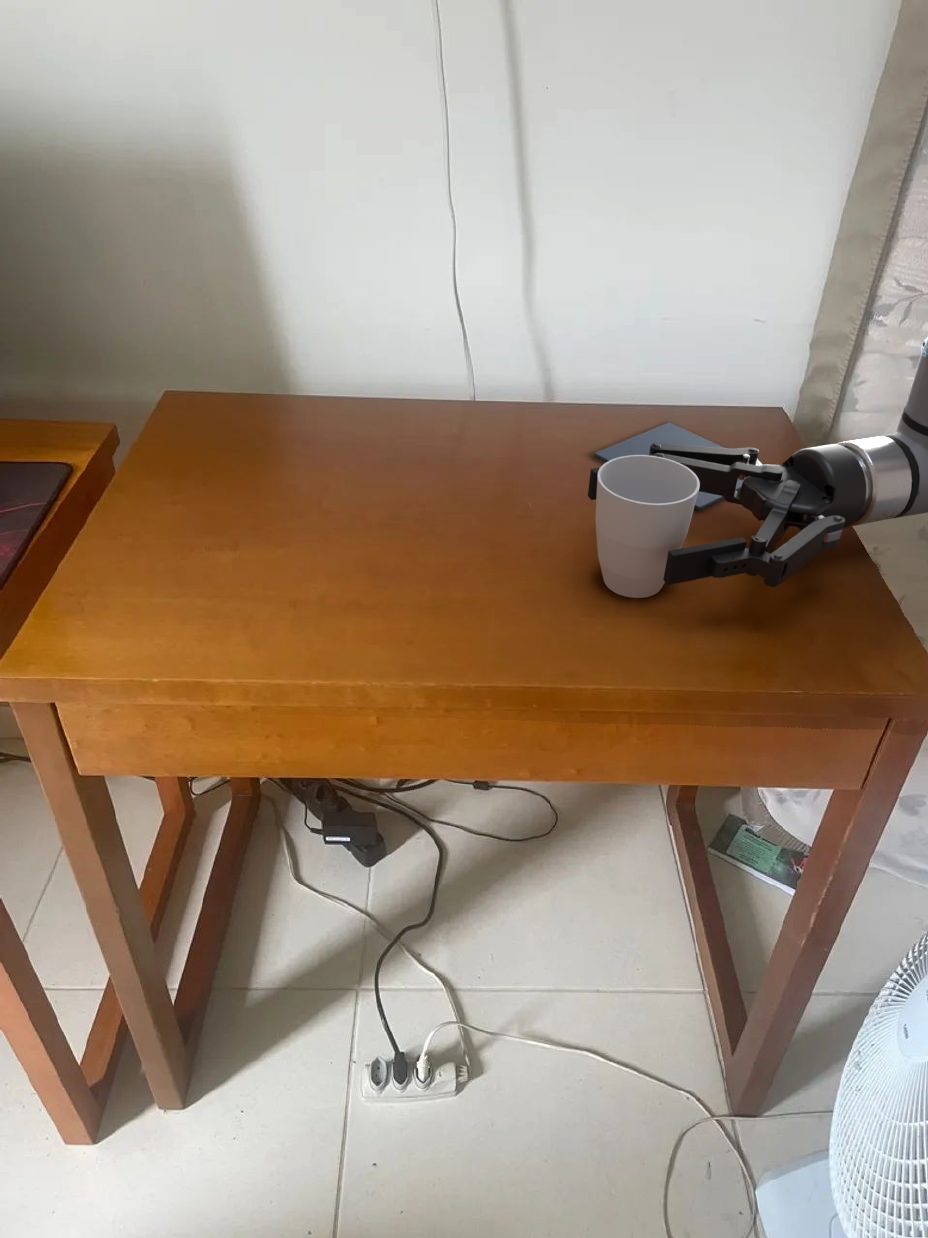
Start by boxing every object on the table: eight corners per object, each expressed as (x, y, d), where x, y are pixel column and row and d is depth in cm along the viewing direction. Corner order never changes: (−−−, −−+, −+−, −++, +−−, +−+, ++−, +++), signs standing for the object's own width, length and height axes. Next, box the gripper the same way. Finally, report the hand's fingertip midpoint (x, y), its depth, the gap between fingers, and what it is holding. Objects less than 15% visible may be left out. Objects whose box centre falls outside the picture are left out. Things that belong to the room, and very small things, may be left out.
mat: (773, 473, 101) (774, 470, 100) (699, 510, 94) (699, 507, 94) (668, 425, 109) (669, 421, 109) (593, 456, 103) (594, 452, 103)
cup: (698, 597, 83) (719, 494, 77) (613, 617, 80) (629, 511, 74) (649, 548, 89) (666, 448, 83) (569, 565, 86) (580, 463, 80)
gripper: (925, 599, 80) (698, 650, 74) (753, 459, 98) (560, 491, 92) (955, 519, 75) (716, 567, 69) (769, 389, 94) (567, 417, 88)
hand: (626, 523), depth 81 cm, fingers open, 13 cm apart
